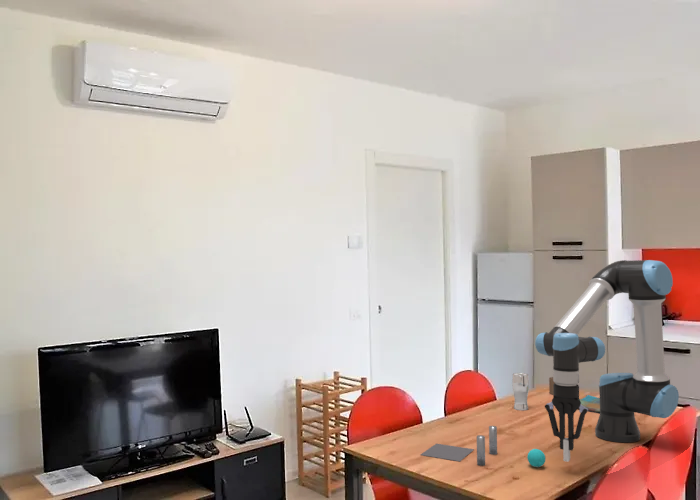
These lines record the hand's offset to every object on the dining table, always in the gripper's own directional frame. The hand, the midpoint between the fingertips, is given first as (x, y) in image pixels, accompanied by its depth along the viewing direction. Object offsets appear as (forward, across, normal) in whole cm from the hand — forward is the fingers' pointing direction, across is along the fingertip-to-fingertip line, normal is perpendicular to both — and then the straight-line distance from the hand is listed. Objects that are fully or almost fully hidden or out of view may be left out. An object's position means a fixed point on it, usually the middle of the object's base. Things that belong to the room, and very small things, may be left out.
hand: (566, 460), depth 190 cm
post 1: (+4, +25, +6) cm, 26 cm away
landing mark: (+4, +39, 0) cm, 39 cm away
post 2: (+4, +25, -7) cm, 26 cm away
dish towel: (+4, +6, -91) cm, 92 cm away
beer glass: (+3, +33, -71) cm, 79 cm away
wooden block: (+3, +26, -106) cm, 110 cm away
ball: (+1, +9, 0) cm, 9 cm away
